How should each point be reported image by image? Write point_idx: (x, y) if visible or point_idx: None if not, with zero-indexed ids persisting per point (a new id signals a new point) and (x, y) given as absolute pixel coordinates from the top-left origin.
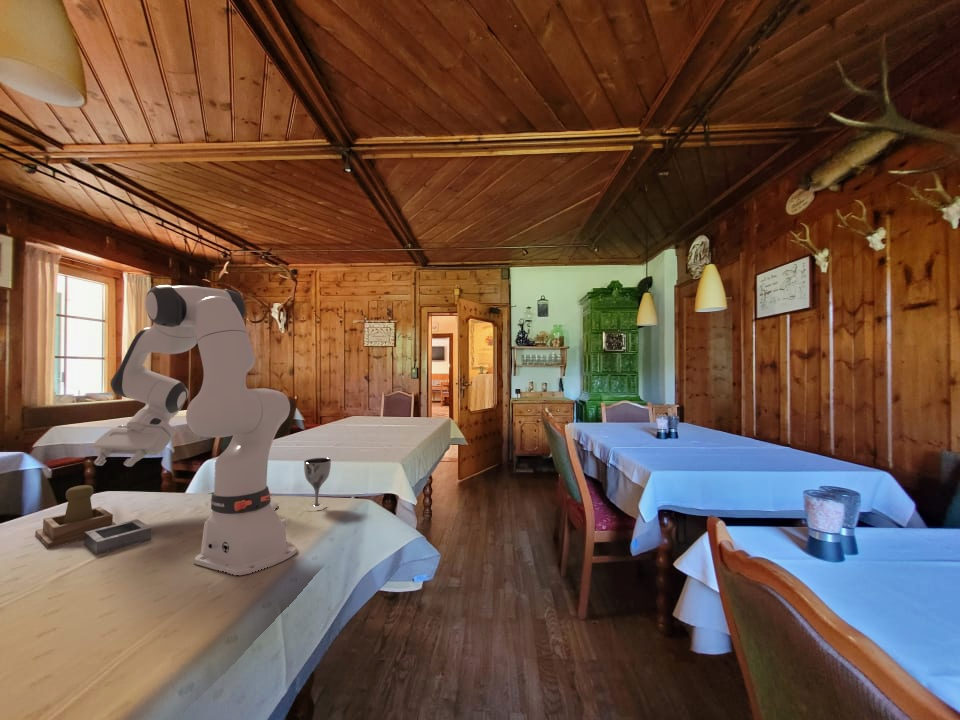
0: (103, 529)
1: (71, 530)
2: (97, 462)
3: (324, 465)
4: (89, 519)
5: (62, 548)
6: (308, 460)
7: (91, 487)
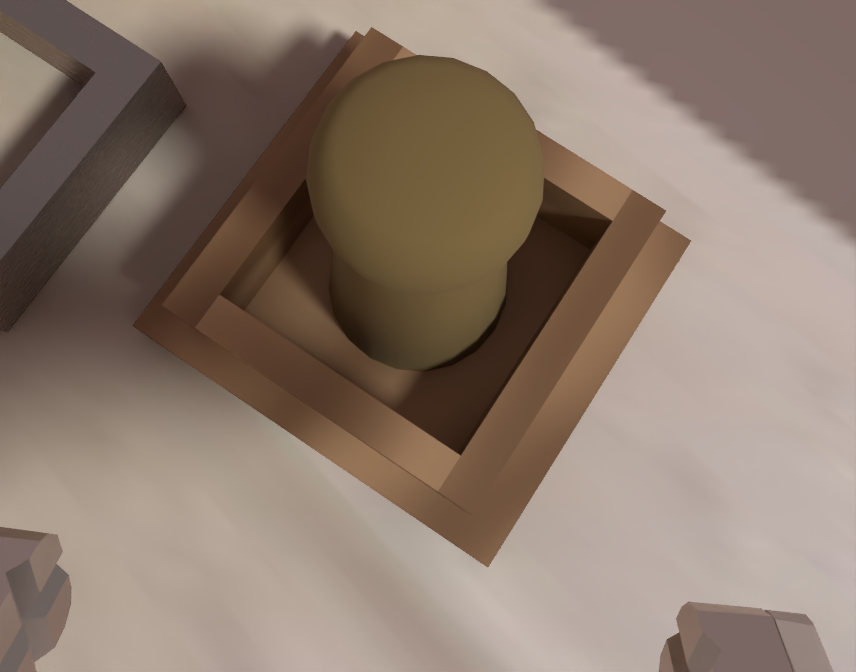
0: (65, 111)
1: None
2: (719, 610)
3: None
4: (261, 191)
5: (268, 51)
6: None
7: (329, 204)
